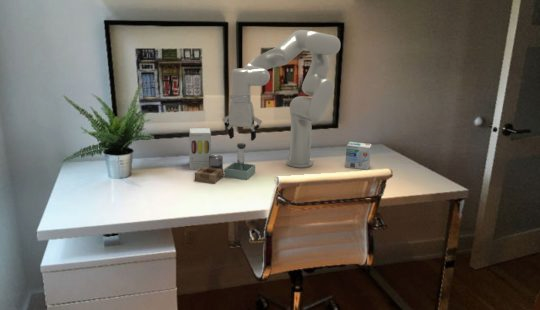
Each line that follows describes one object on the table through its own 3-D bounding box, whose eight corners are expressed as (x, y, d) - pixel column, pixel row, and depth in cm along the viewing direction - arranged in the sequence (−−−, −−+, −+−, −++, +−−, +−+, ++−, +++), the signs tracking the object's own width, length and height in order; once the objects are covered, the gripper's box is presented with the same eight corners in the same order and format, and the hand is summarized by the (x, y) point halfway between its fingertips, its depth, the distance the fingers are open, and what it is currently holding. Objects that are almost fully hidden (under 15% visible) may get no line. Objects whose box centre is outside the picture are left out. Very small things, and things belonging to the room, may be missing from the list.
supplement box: (189, 169, 209) (189, 132, 204) (189, 163, 218) (188, 127, 213) (211, 169, 211) (211, 132, 206) (210, 162, 220) (209, 127, 215)
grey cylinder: (212, 169, 211) (212, 152, 208) (224, 171, 209) (224, 154, 207) (206, 173, 205) (206, 156, 203) (219, 175, 203) (219, 157, 201)
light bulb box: (344, 167, 219) (346, 144, 216) (347, 163, 226) (348, 141, 222) (367, 170, 216) (369, 147, 213) (369, 166, 222) (371, 143, 219)
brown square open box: (204, 174, 204) (204, 166, 203) (223, 176, 201) (223, 169, 200) (194, 180, 196) (194, 172, 195) (214, 183, 193) (214, 175, 192)
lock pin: (238, 171, 207) (239, 142, 203) (245, 172, 206) (246, 143, 202) (234, 173, 203) (235, 144, 200) (242, 175, 202) (243, 145, 199)
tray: (233, 169, 211) (233, 162, 210) (255, 172, 208) (255, 164, 207) (224, 176, 202) (224, 168, 201) (247, 179, 199) (247, 171, 198)
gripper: (218, 99, 194) (219, 139, 200) (258, 101, 189) (258, 143, 195) (225, 96, 201) (226, 135, 207) (264, 98, 196) (264, 138, 201)
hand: (242, 138), depth 201 cm, fingers open, 9 cm apart
